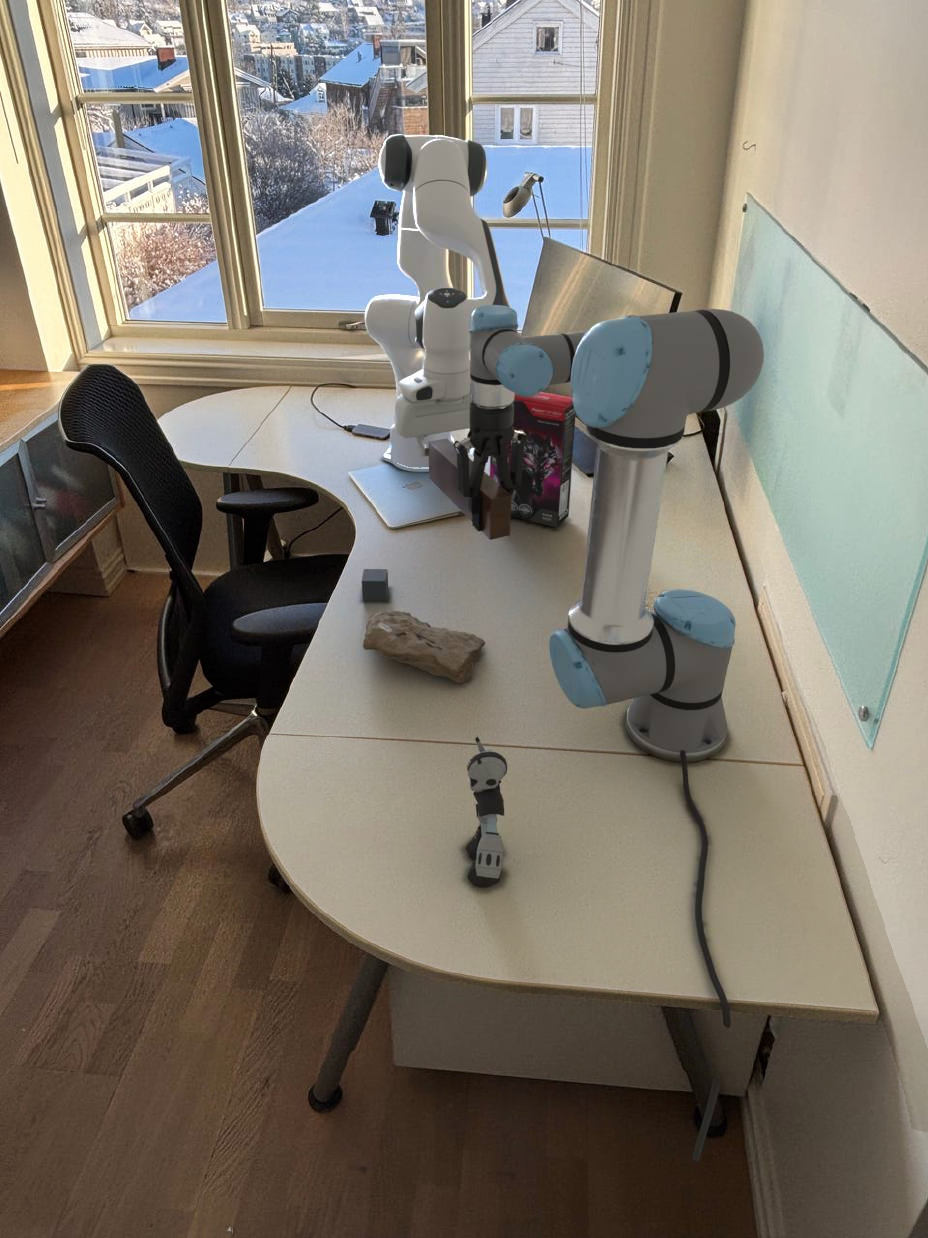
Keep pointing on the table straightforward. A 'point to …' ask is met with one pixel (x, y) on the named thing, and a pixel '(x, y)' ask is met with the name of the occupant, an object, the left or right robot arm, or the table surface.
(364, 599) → the slate cube
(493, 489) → the walnut bar
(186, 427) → the table surface
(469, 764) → the robot
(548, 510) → the graphics card box
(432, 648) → the stone
